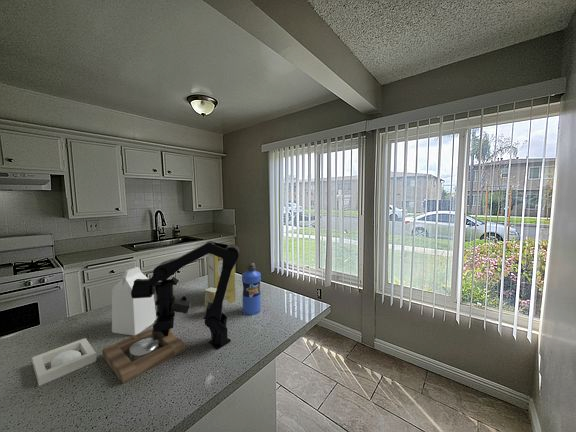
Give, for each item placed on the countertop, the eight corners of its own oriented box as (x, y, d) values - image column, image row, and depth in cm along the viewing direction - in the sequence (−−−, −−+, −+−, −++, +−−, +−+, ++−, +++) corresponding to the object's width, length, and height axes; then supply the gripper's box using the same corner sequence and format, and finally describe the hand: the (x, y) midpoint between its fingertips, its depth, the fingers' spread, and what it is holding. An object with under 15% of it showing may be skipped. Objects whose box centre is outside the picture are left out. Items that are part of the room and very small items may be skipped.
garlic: (87, 356, 85) (86, 347, 84) (70, 370, 78) (69, 360, 78) (65, 357, 85) (64, 347, 84) (46, 371, 78) (45, 360, 78)
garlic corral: (96, 360, 82) (96, 352, 82) (38, 386, 71) (37, 377, 71) (85, 345, 91) (85, 337, 91) (32, 365, 80) (32, 357, 80)
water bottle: (263, 313, 117) (262, 263, 114) (244, 316, 113) (243, 265, 111) (258, 305, 125) (258, 259, 123) (240, 308, 122) (240, 260, 120)
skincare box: (204, 313, 116) (203, 289, 115) (211, 310, 119) (210, 286, 118) (214, 317, 113) (213, 292, 112) (220, 313, 116) (220, 289, 115)
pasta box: (208, 293, 139) (207, 247, 137) (225, 290, 145) (224, 245, 142) (216, 305, 124) (214, 253, 122) (235, 301, 129) (234, 251, 127)
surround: (185, 350, 88) (184, 342, 88) (122, 384, 72) (122, 374, 72) (160, 331, 100) (160, 324, 100) (102, 356, 85) (102, 348, 84)
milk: (135, 335, 97) (131, 274, 95) (111, 332, 100) (108, 272, 97) (156, 320, 109) (154, 266, 107) (135, 318, 111) (132, 264, 109)
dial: (135, 365, 80) (134, 344, 79) (126, 354, 86) (125, 335, 85) (175, 345, 91) (174, 327, 90) (164, 336, 96) (163, 319, 96)
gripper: (188, 302, 83) (189, 345, 84) (188, 284, 100) (189, 319, 101) (151, 308, 78) (153, 352, 80) (158, 288, 95) (160, 324, 97)
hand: (166, 335), depth 89 cm, fingers closed
